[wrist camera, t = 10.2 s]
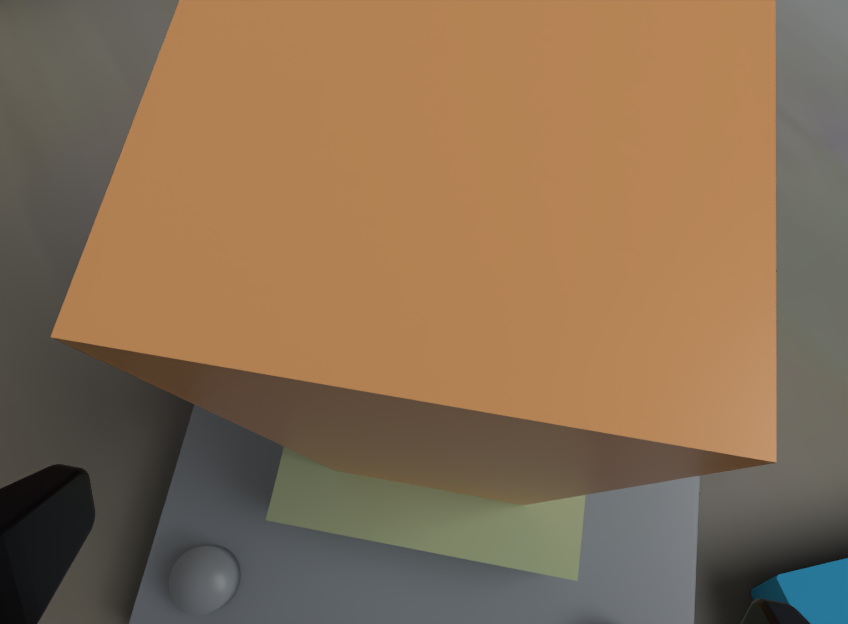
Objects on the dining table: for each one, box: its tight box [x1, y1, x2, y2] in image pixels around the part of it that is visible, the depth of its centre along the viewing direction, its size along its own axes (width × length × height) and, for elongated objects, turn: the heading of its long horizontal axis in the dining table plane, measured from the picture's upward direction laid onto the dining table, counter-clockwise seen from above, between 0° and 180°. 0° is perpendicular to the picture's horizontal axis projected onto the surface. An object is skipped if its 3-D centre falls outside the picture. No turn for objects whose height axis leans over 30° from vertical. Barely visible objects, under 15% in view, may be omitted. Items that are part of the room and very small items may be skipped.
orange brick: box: [51, 0, 776, 505], centre depth 11 cm, size 5×5×12 cm
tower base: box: [129, 405, 700, 624], centre depth 19 cm, size 16×16×4 cm
